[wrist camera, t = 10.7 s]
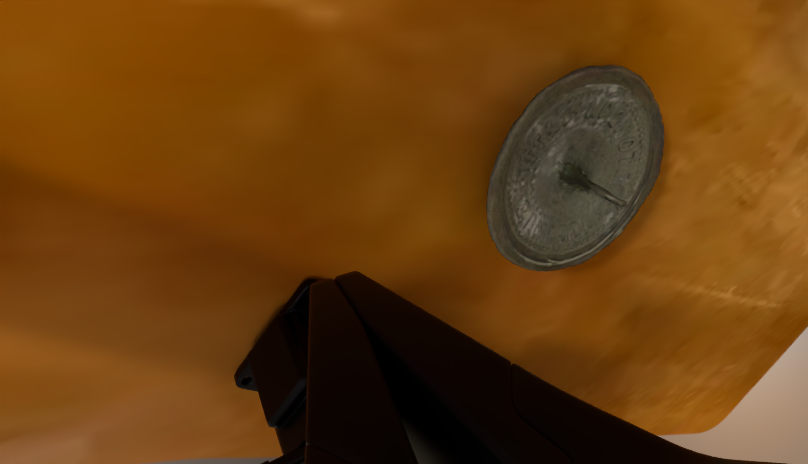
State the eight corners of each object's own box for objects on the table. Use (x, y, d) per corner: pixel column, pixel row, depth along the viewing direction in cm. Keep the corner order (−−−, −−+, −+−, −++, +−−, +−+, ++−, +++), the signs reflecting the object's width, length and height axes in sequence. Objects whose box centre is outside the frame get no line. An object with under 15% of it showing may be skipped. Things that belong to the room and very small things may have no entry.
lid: (468, 254, 31) (524, 323, 28) (455, 130, 22) (533, 209, 20) (616, 164, 32) (682, 220, 30) (654, 18, 24) (750, 78, 22)
